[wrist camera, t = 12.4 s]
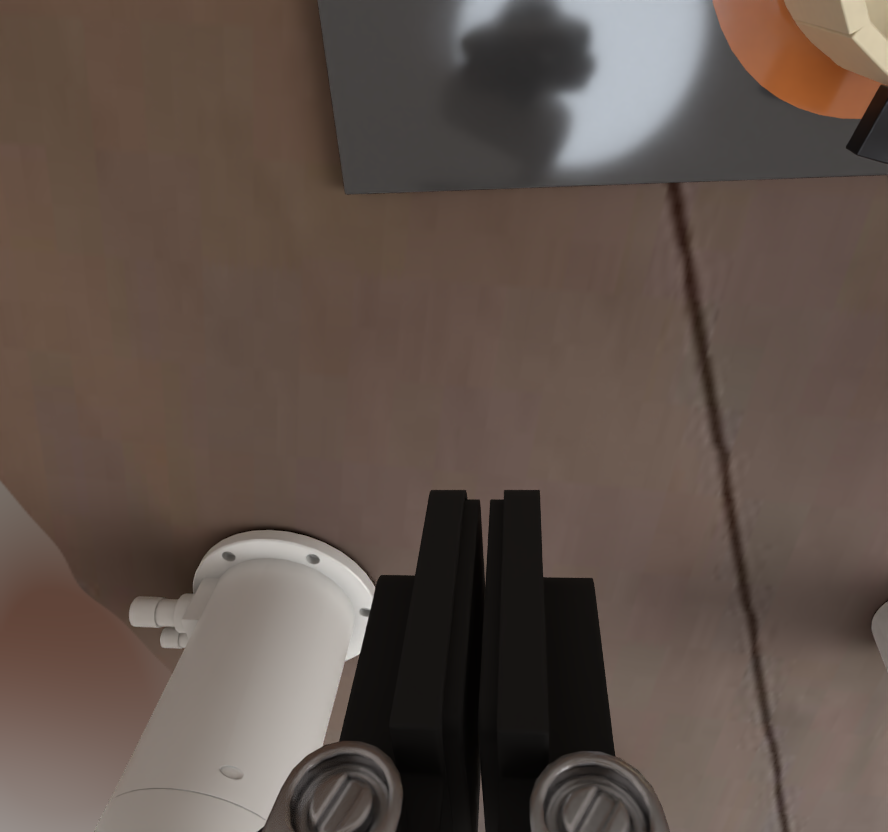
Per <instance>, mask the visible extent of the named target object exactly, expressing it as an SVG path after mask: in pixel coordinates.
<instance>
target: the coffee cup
mask: <svg viewBox="0 0 888 832" xmlns="http://www.w3.org/2000/svg"><path fill="white" fill-rule="evenodd" d="M871 629H872V633H873V636H874V639H875V642H876V644H877V647H878V649H879V652H880V654H881V657H882V660H883V662H884V665H885V667H886V670H887V672H888V601H887V602H886V603H885V604H884V605H882V606H881V607H880V608H879V609H878V611H877V612H876V613H875V615H874V617H873V620H872V626H871Z"/></svg>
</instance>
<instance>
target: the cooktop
mask: <svg viewBox="0 0 888 832" xmlns="http://www.w3.org/2000/svg"><path fill="white" fill-rule="evenodd" d="M317 3H318V9H319V16H320V23H321V30H322V37H323V44H324V51H325V58H326V65H327V72H328V79H329V86H330V93H331V100H332V107H333V114H334V121H335V128H336V135H337V142H338V149H339V156H340V163H341V170H342V177H343V184H344V191H345V194H347V195H351V194H378V193H406V192H434V191H461V190H489V189H517V188H544V187H572V186H600V185H627V184H655V183H683V182H710V181H738V180H766V179H793V178H821V177H849V176H876V175H888V164H885V163H881V162H878V161H874V160H871V159H867V158H864V157H860V156H857V155H855V154H854V153H852V152H851V151H849V150H848V149H846V146H847V144H848V142H849V140H850V138H851V137H852V135H853V133H854V131H855V129H856V128H857V126H858V124H859V122H860V120H861V119H862V117H863V115H864V113H865V111H866V110H867V108H868V106H869V104H870V102H871V101H872V99H873V97H874V95H875V93H876V92H877V90H878V88H879V86H880V85H885V84H882V83H879V82H877V81H874V80H872V79H869V78H867V77H864V76H862V75H859V74H856V73H854V72H851V71H849V70H846V69H844V68H842V67H841V66H838V65H837V64H836V63H835V62H834V61H833V60H832V59H831V58H830V57H828V56H827V55H825V54H824V53H823V52H822V51H821V50H820V49H818V48H817V47H816V46H815V45H814V44H813V43H811V42H810V40H809V39H808V38H807V37H806V36H805V34H804V33H803V32H802V31H801V30H800V28H799V27H798V26H797V24H796V22H795V21H794V19H793V18H792V16H791V14H790V12H789V10H788V9H787V7H786V5H785V2H784V0H317ZM885 86H887V85H885Z"/></svg>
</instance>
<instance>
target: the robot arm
mask: <svg viewBox="0 0 888 832" xmlns="http://www.w3.org/2000/svg"><path fill="white" fill-rule="evenodd" d="M129 620H130V623H131V625H133V626H134V627H154V628H160V627H163V626H168V627H165V628H164V629H163V630H162V633H161V637H160V643H161V646H162V647H163V648H180V649H181V648H185V649H184V651H183V653H182V655H181V657H180V659H179V661H178V663H177V665H176V667H175V669H174V671H173V673H172V675H171V677H170V679H169V681H168V683H167V686H166V687H165V690H164V691H163V694H162V695H161V697H160V700H159V702H158V704H157V706H156V708H155V710H154V712H153V714H152V716H151V718H150V720H149V722H148V724H147V726H146V728H145V730H144V732H143V734H142V736H141V738H140V740H139V742H138V744H137V746H136V748H135V750H134V752H133V754H132V756H131V758H130V760H129V762H128V764H127V766H126V768H125V770H124V772H123V774H122V777H121V778H120V780H119V782H118V784H117V787H116V789H115V791H114V793H113V795H112V797H111V799H110V801H109V803H108V805H107V806H106V808H105V810H104V812H103V814H102V816H101V818H100V820H99V822H98V824H97V827H96V829H95V831H94V832H478V813H479V793H480V773H481V778H482V791H483V804H484V817H485V829H486V832H670V829H669V826H668V823H667V820H666V817H665V814H664V811H663V808H662V805H661V803H660V801H659V799H658V797H657V795H656V793H655V791H654V789H653V787H652V786H651V785H650V783H649V782H648V781H647V780H646V779H645V778H644V777H643V775H642V774H641V773H640V772H639V771H638V770H637V769H635V768H634V767H632V766H631V765H629V764H628V763H626V762H625V761H623V760H622V759H620V758H618V757H615V751H614V743H613V735H612V727H611V718H610V710H609V702H608V694H607V685H606V677H605V669H604V661H603V652H602V644H601V636H600V628H599V619H598V611H597V603H596V595H595V587H594V582H593V578H545V577H543V563H542V536H541V510H540V490H504V500H490V515H489V532H488V550H487V567H486V585H485V576H484V559H483V542H482V524H481V507H480V500H467V493H466V490H431V491H430V494H429V499H428V505H427V511H426V517H425V522H424V528H423V534H422V539H421V545H420V551H419V557H418V562H417V568H416V574H415V576H408V575H381V576H380V577H379V579H378V581H377V585H376V588H375V586H374V585H373V583H372V581H371V580H370V578H369V577H368V575H367V574H366V573H365V572H364V571H363V570H362V569H361V568H360V567H359V566H358V565H357V563H356V562H354V561H353V560H352V559H350V558H349V557H348V556H346V555H345V554H344V553H342V552H341V551H339V550H337V549H335V548H334V547H332V546H330V545H328V544H326V543H324V542H322V541H319V540H316V539H314V538H311V537H308V536H305V535H301V534H297V533H292V532H287V531H276V530H257V531H248V532H244V533H239V534H235V535H233V536H230V537H228V538H226V539H223V540H221V541H220V542H219V543H217V544H216V545H214V546H213V547H212V548H211V549H210V550H209V551H208V552H207V553H206V555H205V556H204V557H203V559H202V561H201V563H200V565H199V567H198V568H197V570H196V572H195V576H194V580H193V594H190V593H185V594H183V595H181V597H180V598H179V599H167V598H164V597H145V596H138V597H136V598H135V599H134V600H133V602H132V604H131V606H130V610H129ZM358 654H360V656H359V660H358V664H357V668H356V673H355V677H354V681H353V685H352V689H351V694H350V698H349V702H348V706H347V711H346V715H345V719H344V723H343V728H342V732H341V736H340V740H339V742H336V743H332V744H328V745H324V746H323V742H324V738H325V735H326V731H327V727H328V723H329V719H330V716H331V712H332V708H333V704H334V700H335V697H336V693H337V689H338V685H339V681H340V678H341V674H342V670H343V666H344V662H345V661H347V660H349V659H351V658H353V657H355V656H357V655H358Z"/></svg>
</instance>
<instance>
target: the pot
mask: <svg viewBox="0 0 888 832" xmlns="http://www.w3.org/2000/svg"><path fill="white" fill-rule="evenodd" d="M784 2H785V5H786V7H787V9H788V10H789V12H790V14H791V16H792V18H793V19H794V21H795V22H796V24H797V26H798V27H799V28H800V30H801V31H802V32H803V33H804V34H805V36H806V37H807V38H808V39H809V40H810V42H811V43H813V44H814V45H815V46H816V47H817V48H818V49H820V50H821V51H822V52H823V53H824V54H825V55H827V56H828V57H830V58H831V59H832V60H833V61H834V62H835V63H836V64H837V65H838V66H841V67H842V68H844V69H846V70H849V71H851V72H854V73H856V74H859V75H862V76H864V77H867V78H869V79H872V80H874V81H877V82H879V83H882V84H885V85H887V86H885V85H880V86H879V88H878V90H877V92H876V93H875V95H874V97H873V99H872V101H871V102H870V104H869V106H868V108H867V110H866V111H865V113H864V115H863V117H862V119H861V120H860V122H859V124H858V126H857V128H856V129H855V131H854V133H853V135H852V137H851V138H850V140H849V142H848V144H847V146H846V149H848V150H849V151H851V152H852V153H854V154H855V155H857V156H860V157H864V158H867V159H871V160H874V161H878V162H881V163H885V164H888V0H784Z"/></svg>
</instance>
